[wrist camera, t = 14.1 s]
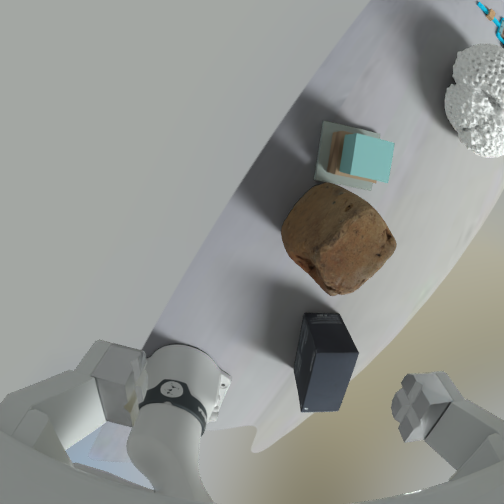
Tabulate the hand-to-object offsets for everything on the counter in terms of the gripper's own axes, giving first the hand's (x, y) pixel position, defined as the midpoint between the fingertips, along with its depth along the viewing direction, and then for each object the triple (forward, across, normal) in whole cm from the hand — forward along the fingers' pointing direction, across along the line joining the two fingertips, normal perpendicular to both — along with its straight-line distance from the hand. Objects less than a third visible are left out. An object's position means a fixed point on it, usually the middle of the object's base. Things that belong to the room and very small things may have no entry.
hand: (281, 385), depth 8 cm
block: (+39, +8, -2) cm, 40 cm away
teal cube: (+33, +12, +8) cm, 36 cm away
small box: (+39, +14, -25) cm, 49 cm away
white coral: (+39, +35, +24) cm, 58 cm away
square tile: (+39, +12, +8) cm, 42 cm away
